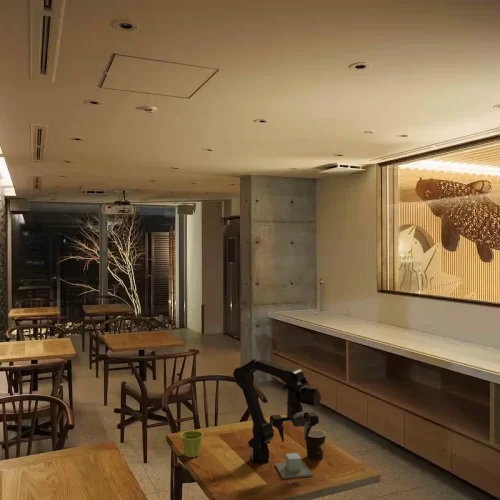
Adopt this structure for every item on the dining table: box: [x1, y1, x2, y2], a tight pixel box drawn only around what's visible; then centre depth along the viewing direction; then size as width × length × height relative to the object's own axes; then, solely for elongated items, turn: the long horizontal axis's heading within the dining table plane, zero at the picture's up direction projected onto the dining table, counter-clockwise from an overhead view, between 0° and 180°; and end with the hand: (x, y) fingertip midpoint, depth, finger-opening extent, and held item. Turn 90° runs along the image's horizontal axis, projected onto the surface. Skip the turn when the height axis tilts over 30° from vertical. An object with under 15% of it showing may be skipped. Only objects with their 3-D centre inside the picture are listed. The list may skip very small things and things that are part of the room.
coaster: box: [274, 460, 314, 480], centre depth 203 cm, size 12×12×1 cm
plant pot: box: [180, 430, 204, 458], centre depth 217 cm, size 9×9×9 cm
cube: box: [285, 452, 303, 472], centre depth 203 cm, size 5×5×5 cm
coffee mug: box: [305, 429, 327, 461], centre depth 217 cm, size 12×9×10 cm
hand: (294, 441), depth 203 cm, fingers open, 9 cm apart
